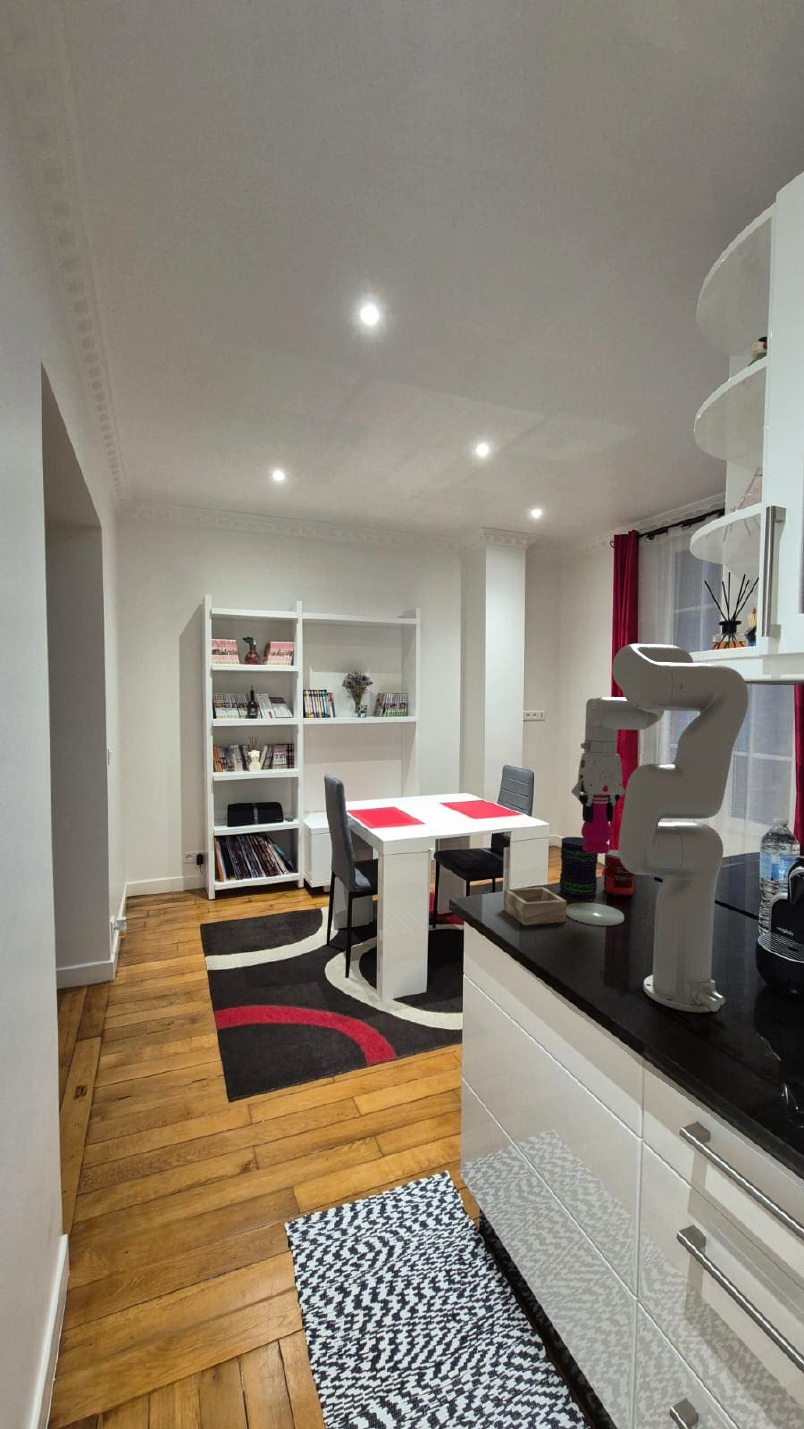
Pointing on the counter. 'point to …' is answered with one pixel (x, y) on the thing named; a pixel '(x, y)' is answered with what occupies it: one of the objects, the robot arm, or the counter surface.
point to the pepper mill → (597, 827)
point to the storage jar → (577, 870)
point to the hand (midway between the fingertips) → (597, 820)
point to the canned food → (617, 875)
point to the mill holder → (534, 905)
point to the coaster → (594, 914)
